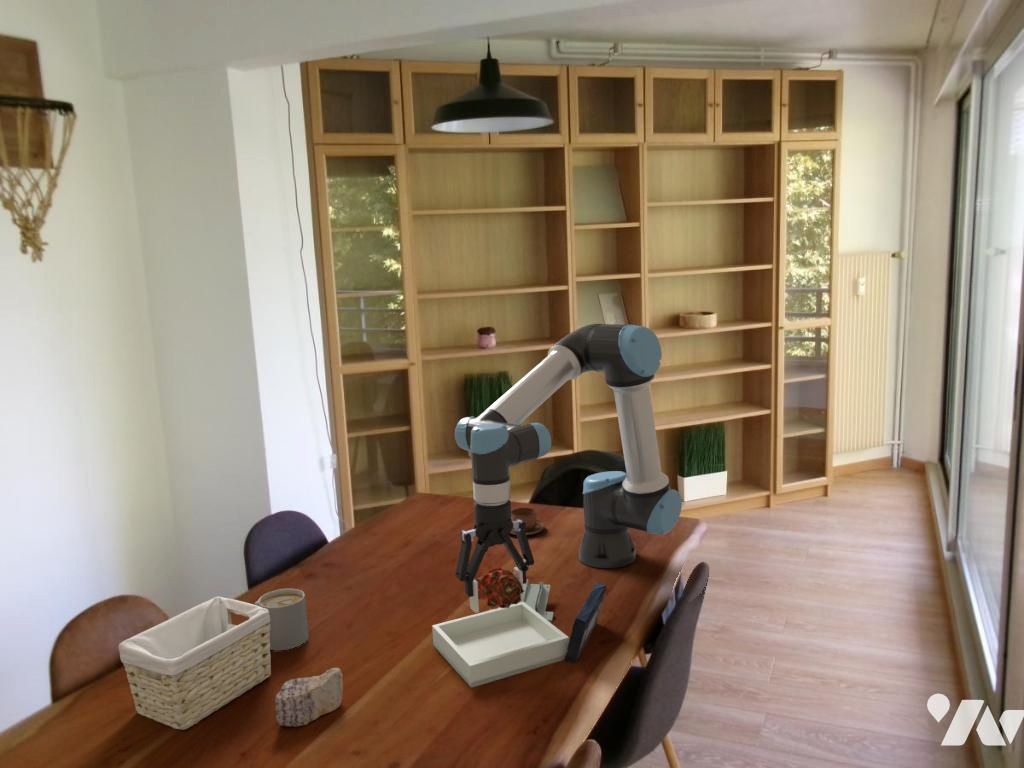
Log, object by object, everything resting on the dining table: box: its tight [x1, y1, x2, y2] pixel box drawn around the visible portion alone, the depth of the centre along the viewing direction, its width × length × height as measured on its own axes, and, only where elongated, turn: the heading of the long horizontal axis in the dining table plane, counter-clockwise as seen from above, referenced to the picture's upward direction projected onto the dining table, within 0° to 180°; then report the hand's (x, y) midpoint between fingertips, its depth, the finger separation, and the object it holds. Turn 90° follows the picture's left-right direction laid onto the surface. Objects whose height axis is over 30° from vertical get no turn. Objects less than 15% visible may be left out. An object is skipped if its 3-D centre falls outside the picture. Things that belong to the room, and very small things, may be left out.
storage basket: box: [118, 596, 272, 731], centre depth 159 cm, size 24×16×15 cm
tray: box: [431, 602, 570, 688], centre depth 172 cm, size 22×20×4 cm
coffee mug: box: [253, 588, 310, 650], centre depth 182 cm, size 13×10×10 cm
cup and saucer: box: [510, 507, 545, 536], centre depth 243 cm, size 12×12×6 cm
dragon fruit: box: [475, 567, 524, 609], centre depth 170 cm, size 8×8×12 cm
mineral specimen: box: [274, 667, 344, 728], centre depth 152 cm, size 14×8×7 cm, turn 137°
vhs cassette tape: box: [564, 581, 607, 664], centre depth 174 cm, size 18×3×10 cm, turn 159°
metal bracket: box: [488, 578, 554, 623], centre depth 192 cm, size 14×6×15 cm
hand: (497, 604), depth 170 cm, fingers closed on dragon fruit, 9 cm apart
